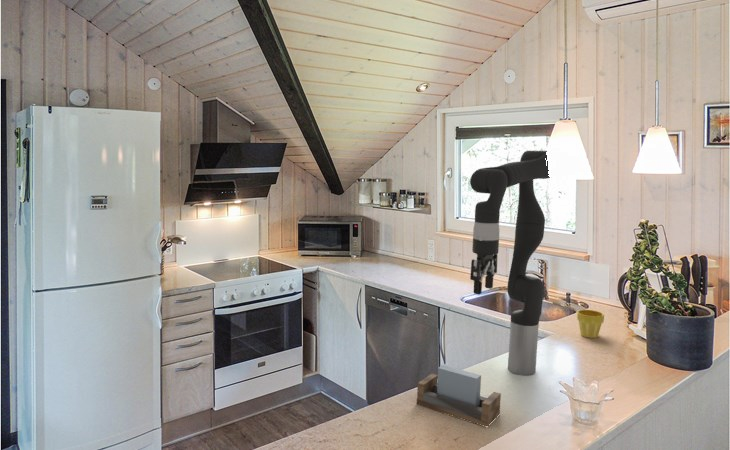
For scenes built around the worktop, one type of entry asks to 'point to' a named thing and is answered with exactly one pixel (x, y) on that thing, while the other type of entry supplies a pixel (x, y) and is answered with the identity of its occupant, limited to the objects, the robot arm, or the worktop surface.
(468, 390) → the light blue flat block
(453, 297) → the worktop surface
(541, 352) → the worktop surface
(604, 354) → the worktop surface
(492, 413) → the door track
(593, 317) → the plant pot
